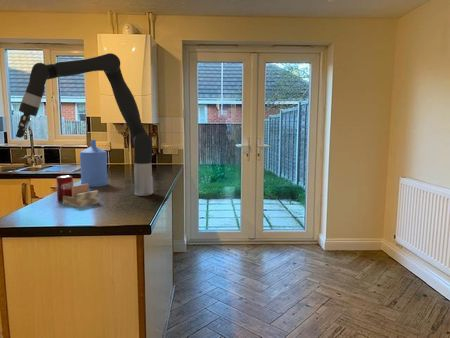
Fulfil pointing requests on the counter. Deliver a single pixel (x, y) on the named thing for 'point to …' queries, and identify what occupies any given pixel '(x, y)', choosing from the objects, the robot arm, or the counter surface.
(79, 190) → the catch plate
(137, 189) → the robot arm
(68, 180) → the soda can
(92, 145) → the water jug
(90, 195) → the birch dock
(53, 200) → the counter surface
